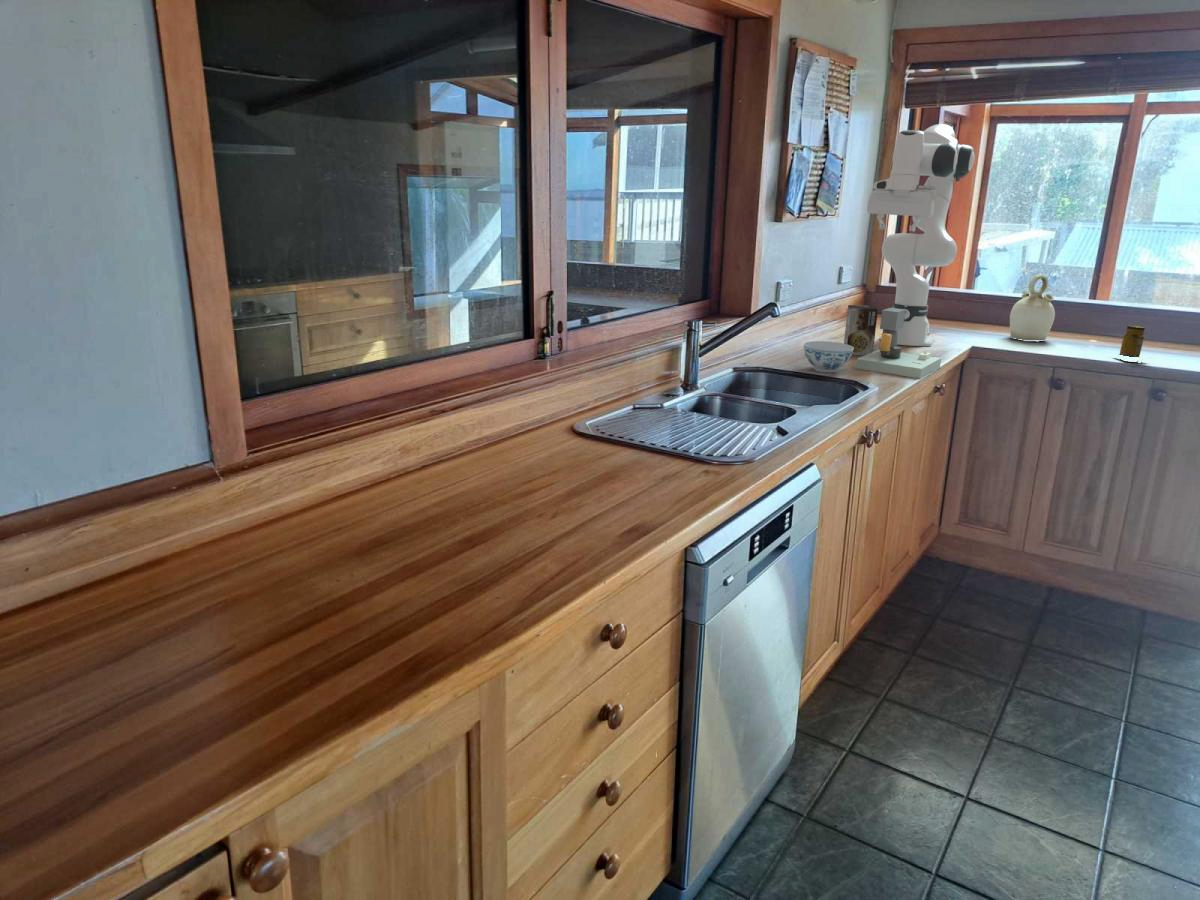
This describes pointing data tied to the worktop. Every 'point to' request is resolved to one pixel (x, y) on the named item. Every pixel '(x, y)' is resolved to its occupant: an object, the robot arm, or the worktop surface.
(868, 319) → the coffee box
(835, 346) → the chinaware
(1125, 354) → the condiment
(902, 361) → the green base post mechanism
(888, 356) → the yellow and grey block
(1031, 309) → the jug
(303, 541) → the worktop surface
